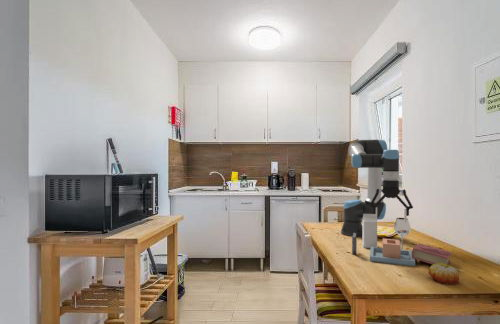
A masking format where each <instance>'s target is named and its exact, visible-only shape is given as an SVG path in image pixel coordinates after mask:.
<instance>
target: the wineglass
mask: <svg viewBox="0 0 500 324" xmlns="http://www.w3.org/2000/svg"><path fill="white" fill-rule="evenodd" d="M393 227H394V228H393V229H394V231H395V233H396V235H398V236H399V237H400V240H401V241H400V245H401V250H404V238H405V237H406V236H407V235H409V234H410V233H411V230H412V229H411V224H410V221H409V218H407V217H406V223H405V222H404V217H396V219H395V223H394V226H393Z"/></svg>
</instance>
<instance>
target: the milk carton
mask: <svg viewBox="0 0 500 324" xmlns="http://www.w3.org/2000/svg"><path fill="white" fill-rule="evenodd" d="M361 223H362V236H361V238H362V241H361V244H362V247H363V248H366V249H371V247H378V220H377V221H376V214H363V219H361Z"/></svg>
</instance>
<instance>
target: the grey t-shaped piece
mask: <svg viewBox="0 0 500 324" xmlns="http://www.w3.org/2000/svg"><path fill="white" fill-rule="evenodd" d="M357 237H358V236H356V233H353V236H351V240H352V241H351V246H352V247H351V255H353V256H356V255H357V249H358V247H357V244H358V243H357V239H358V238H357Z"/></svg>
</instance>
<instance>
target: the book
mask: <svg viewBox="0 0 500 324" xmlns="http://www.w3.org/2000/svg"><path fill="white" fill-rule="evenodd" d="M411 251H412V254H411V255H412V258H413V259H415V261H416V260H417V261H420V262H424V263H427V264H430V265H433V264H436V263H443V264H446V265H448V266H450V264H451V260H450V257H451V255H452V253H453V252H452V251H450V250H449V251H448V250H445V249H441V248H437V247H434V246H430V245H426V244H423V243H418V244H416V246H413V248H412V250H411Z"/></svg>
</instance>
